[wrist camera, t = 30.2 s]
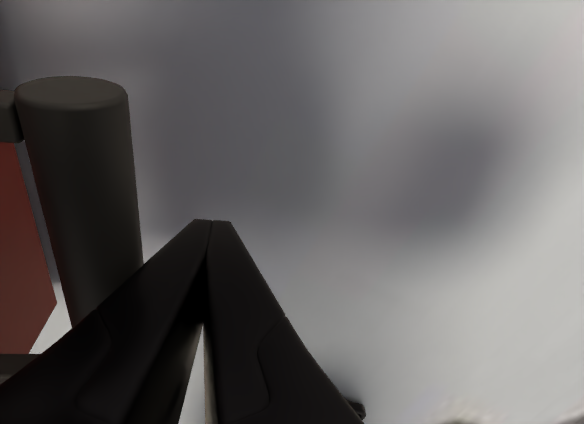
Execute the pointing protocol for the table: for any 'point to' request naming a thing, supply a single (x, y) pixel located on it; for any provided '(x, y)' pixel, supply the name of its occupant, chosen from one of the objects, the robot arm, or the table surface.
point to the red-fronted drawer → (64, 205)
